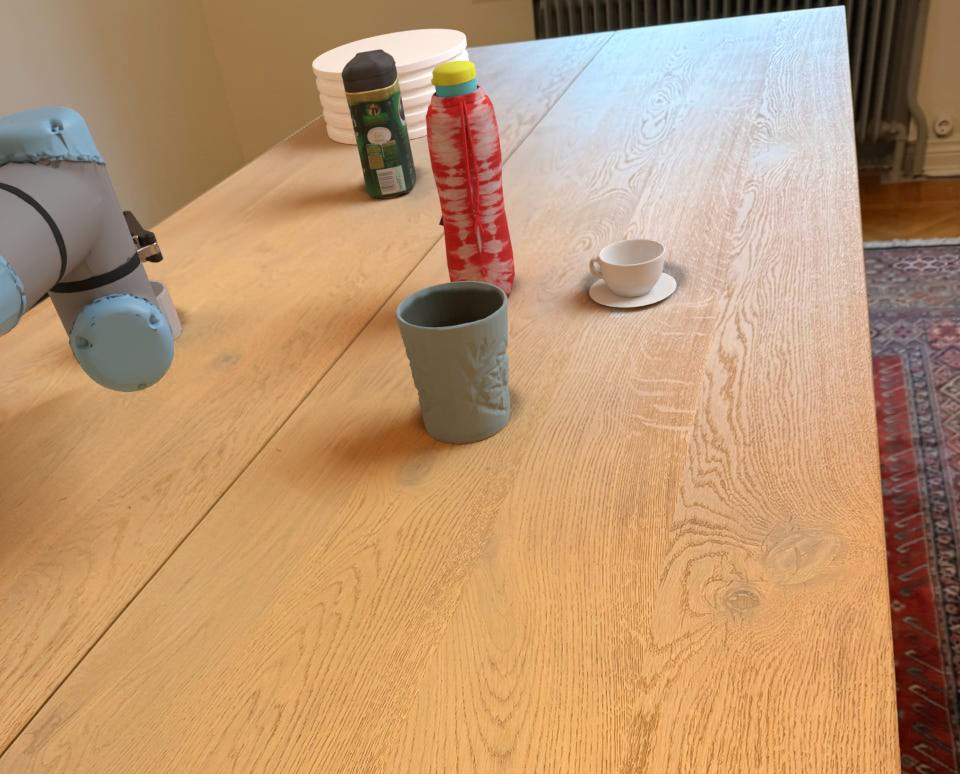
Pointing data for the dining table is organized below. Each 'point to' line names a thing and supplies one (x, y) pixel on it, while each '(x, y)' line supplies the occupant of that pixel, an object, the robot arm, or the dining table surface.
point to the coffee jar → (379, 123)
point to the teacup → (631, 274)
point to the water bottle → (469, 177)
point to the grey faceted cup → (167, 306)
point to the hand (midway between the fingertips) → (69, 220)
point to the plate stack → (414, 72)
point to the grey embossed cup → (458, 358)
